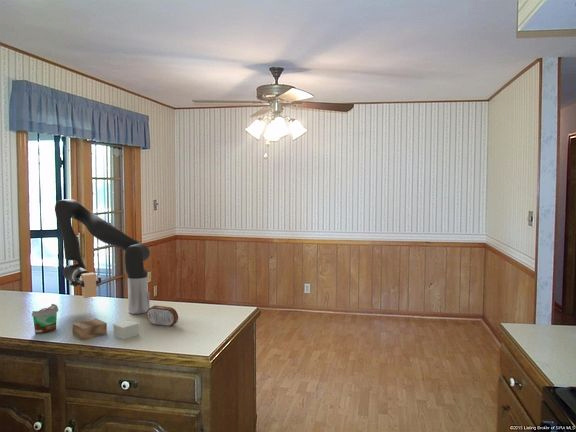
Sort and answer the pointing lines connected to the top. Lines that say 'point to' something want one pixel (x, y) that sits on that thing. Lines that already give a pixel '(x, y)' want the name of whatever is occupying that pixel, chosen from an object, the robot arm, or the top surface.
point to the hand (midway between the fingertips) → (90, 283)
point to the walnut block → (89, 329)
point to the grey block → (125, 329)
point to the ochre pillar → (89, 285)
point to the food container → (45, 319)
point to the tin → (162, 315)
